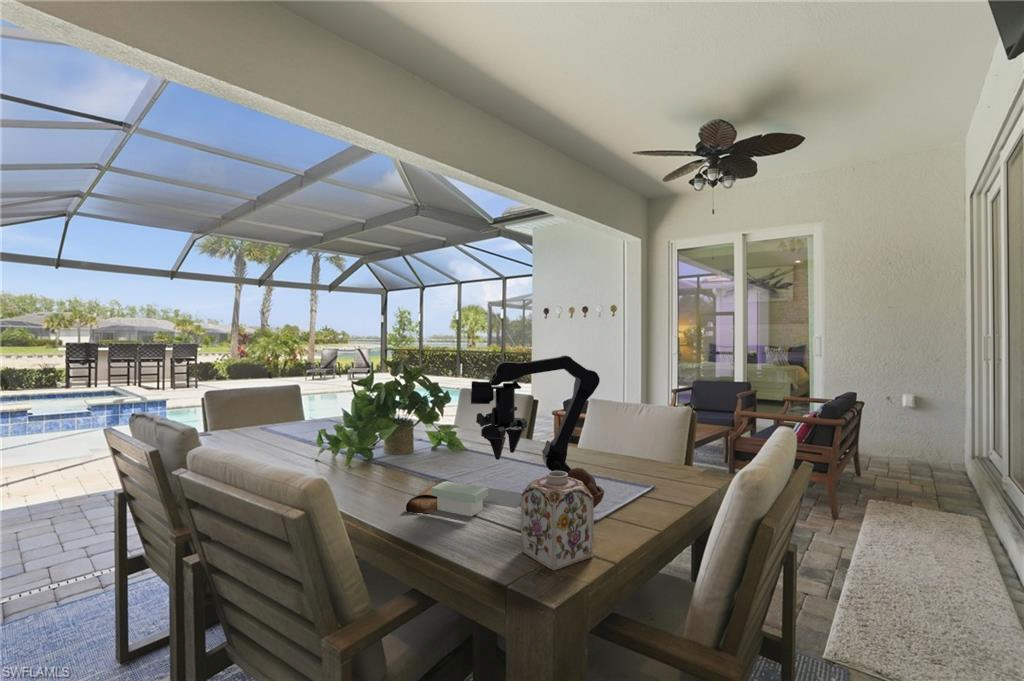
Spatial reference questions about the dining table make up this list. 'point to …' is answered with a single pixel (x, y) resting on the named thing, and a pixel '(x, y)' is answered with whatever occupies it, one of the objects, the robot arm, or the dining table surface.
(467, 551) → the dining table surface
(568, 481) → the decorative jar
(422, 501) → the sunglasses case
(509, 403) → the robot arm
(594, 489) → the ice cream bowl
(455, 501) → the white rectangular box
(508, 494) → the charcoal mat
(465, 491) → the sage lid
